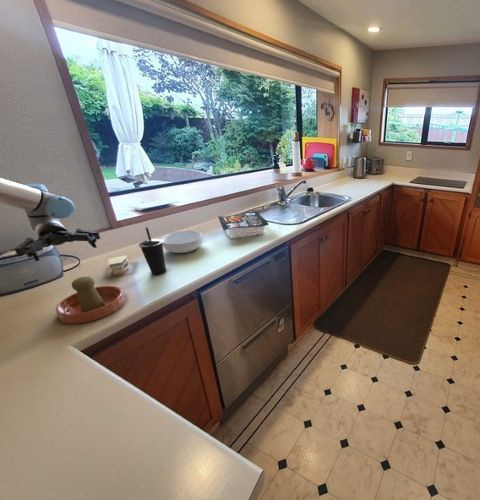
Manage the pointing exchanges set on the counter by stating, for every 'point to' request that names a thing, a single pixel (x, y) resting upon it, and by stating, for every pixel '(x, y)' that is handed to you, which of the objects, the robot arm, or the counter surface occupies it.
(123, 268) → the sandwich
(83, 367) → the counter surface
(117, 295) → the dish
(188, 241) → the cereal bowl
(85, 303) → the cork
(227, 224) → the food packaging
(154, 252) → the drinking cup
